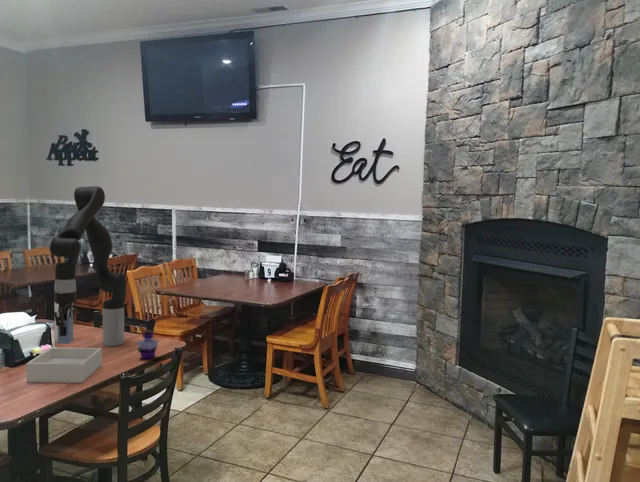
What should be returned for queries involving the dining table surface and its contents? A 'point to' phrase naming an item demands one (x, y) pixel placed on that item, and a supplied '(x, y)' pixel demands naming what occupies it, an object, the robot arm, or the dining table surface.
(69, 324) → the peg
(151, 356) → the potion bottle
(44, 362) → the walled box
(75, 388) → the dining table surface
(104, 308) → the robot arm
